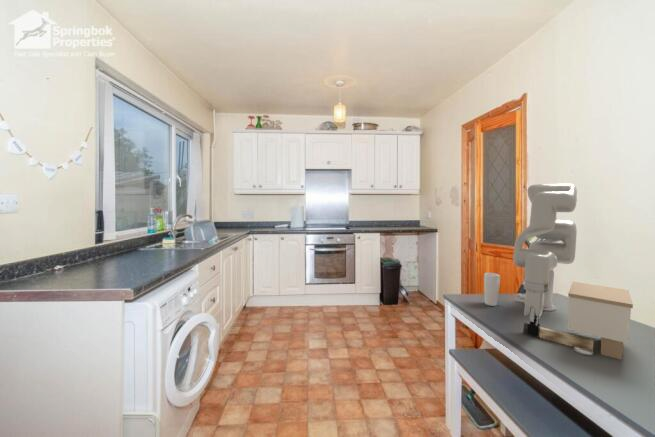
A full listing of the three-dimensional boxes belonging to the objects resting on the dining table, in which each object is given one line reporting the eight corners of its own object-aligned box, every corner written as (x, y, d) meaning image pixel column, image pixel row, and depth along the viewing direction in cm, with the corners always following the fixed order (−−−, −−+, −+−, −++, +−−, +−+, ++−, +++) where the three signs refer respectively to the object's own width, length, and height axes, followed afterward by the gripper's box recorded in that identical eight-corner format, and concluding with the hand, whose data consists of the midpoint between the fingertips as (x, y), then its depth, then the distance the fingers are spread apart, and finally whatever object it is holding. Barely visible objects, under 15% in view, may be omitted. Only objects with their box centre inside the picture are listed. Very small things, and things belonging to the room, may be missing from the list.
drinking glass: (480, 304, 147) (482, 274, 146) (485, 301, 152) (486, 271, 151) (496, 308, 142) (498, 276, 141) (500, 304, 147) (501, 274, 146)
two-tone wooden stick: (523, 333, 115) (523, 324, 115) (524, 331, 117) (524, 322, 116) (592, 352, 102) (593, 341, 101) (592, 349, 103) (593, 339, 103)
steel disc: (571, 351, 102) (572, 347, 102) (575, 347, 105) (576, 343, 105) (591, 357, 98) (591, 354, 98) (594, 353, 101) (594, 349, 101)
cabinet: (564, 347, 105) (568, 293, 103) (569, 328, 120) (572, 281, 119) (627, 364, 94) (632, 304, 93) (624, 341, 109) (628, 290, 108)
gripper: (528, 280, 121) (525, 324, 122) (520, 288, 109) (517, 337, 110) (551, 284, 116) (548, 330, 117) (545, 293, 104) (542, 344, 105)
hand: (533, 333), depth 114 cm, fingers closed on two-tone wooden stick, 1 cm apart
